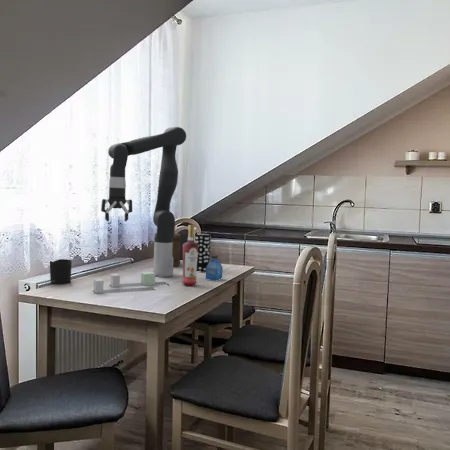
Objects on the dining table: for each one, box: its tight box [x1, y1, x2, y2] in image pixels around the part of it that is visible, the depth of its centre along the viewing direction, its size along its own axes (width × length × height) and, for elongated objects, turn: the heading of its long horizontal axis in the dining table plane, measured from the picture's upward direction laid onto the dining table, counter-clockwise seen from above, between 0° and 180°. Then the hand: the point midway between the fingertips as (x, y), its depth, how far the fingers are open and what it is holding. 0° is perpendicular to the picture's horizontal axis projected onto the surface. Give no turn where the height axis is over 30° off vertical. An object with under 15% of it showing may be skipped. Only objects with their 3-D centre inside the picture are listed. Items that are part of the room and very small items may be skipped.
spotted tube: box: [194, 233, 212, 273], centre depth 263 cm, size 8×8×20 cm
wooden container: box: [154, 232, 181, 268], centre depth 276 cm, size 15×15×22 cm
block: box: [140, 271, 156, 286], centre depth 219 cm, size 5×5×5 cm
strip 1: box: [92, 278, 157, 295], centre depth 205 cm, size 26×6×6 cm, turn 115°
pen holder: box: [49, 258, 73, 285], centre depth 219 cm, size 9×9×10 cm
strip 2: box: [109, 272, 170, 288], centre depth 218 cm, size 26×6×6 cm, turn 115°
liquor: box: [181, 224, 198, 287], centre depth 224 cm, size 7×7×28 cm
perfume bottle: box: [205, 254, 224, 281], centre depth 241 cm, size 6×6×12 cm
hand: (116, 221), depth 228 cm, fingers open, 8 cm apart
